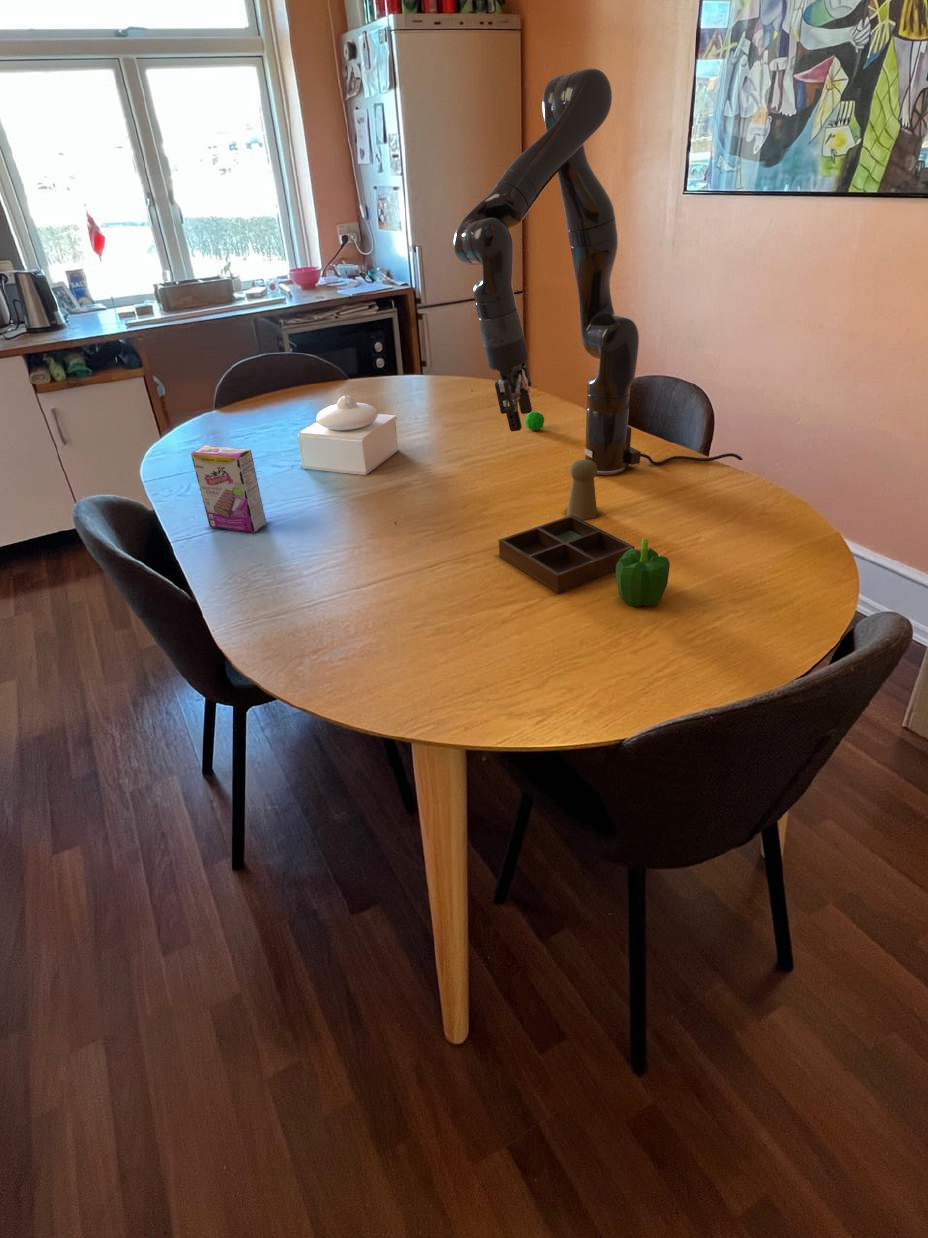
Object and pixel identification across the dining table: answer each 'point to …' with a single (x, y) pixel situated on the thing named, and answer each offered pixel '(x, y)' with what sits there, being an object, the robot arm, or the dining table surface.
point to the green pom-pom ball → (534, 420)
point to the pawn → (583, 490)
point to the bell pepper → (642, 576)
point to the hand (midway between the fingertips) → (521, 421)
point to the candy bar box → (229, 488)
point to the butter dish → (348, 438)
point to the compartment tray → (563, 552)
